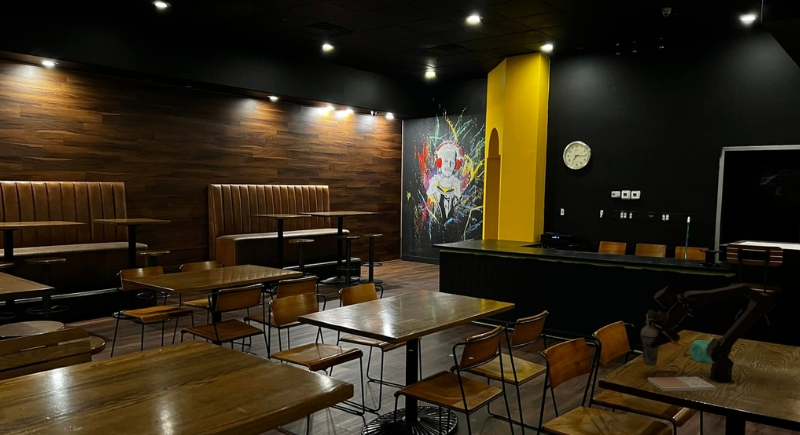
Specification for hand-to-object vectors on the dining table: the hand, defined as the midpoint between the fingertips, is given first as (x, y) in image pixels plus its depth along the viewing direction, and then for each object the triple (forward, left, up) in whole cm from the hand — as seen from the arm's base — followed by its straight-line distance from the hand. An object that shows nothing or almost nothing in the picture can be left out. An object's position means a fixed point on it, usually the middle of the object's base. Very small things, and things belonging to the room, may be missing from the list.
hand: (646, 345), depth 228 cm
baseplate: (-9, +9, -13) cm, 18 cm away
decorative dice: (-37, -23, -13) cm, 45 cm away
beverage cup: (-1, 0, -8) cm, 8 cm away
